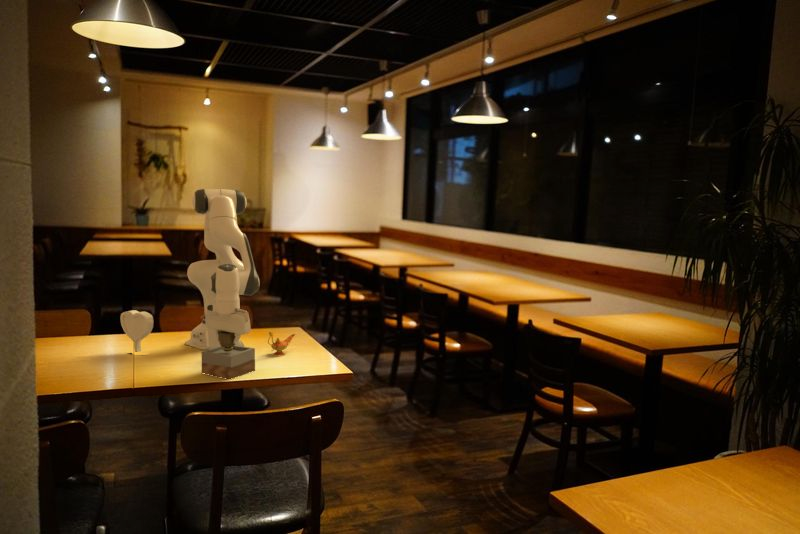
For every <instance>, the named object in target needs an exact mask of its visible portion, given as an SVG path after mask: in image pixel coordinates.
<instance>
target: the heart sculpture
mask: <svg viewBox="0 0 800 534" xmlns="http://www.w3.org/2000/svg"><path fill="white" fill-rule="evenodd" d="M119 319H120V325H121V327H122V329H123V332H124V333H125V334H126V336H127V338H129V339H130V340H131V341H132V342H133V344H134V345H133V347H134V350H135V352H141V350H142V349H141V341H143V339H144V338H147V337H148V336H149V335H150V334H151V332H152V331H153V328H154V317H153V315H152V314H151V313H149V312H147V311H138V310H135V309H134V310H133V309H132V310H128V311H123V312H122V313H120V317H119Z"/></svg>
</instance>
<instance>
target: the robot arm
mask: <svg viewBox="0 0 800 534" xmlns="http://www.w3.org/2000/svg"><path fill="white" fill-rule="evenodd" d="M247 201H248V200H247V198H246V194H245V193H244V191H242V190H238V189H235V190H234V189H229V188H228V189H227V188H218V189H217V188H211V189H209V188H208V189H204V188H201V189H197V190H195V191H194V194H193V196H192V200H191V203H192V204H191V205H192V207H193V209H194V211H195V212H196V213H197V214H199V215H205V216H204V231H203V233H204V236H203V237H204V239H203V243H204V246H205V248H206V249H207V250H209V251H210V252H212V253H215V257H216V258H215V259H206V260H198V261H195V262H192V263H191V264H190V265H189V266H188V267H187V278H188V280H189V281H190V283H191V284H193V285H194V286H195V287H197V289H198V290H199V291H200V293H201V295H202V298H203V306H204V307H203V308H204V309H203V310H204V311H203V312H204V314H203V315H201V316H199V317H200V319H201V323H200V324H198V325H197V326H196V327H194V328H193V329H192V330H191V332H190V337H189V338H190V339H187V340H185V342H184V345H187V346H190V347H193V348H195V349H198V350H204V351H206V350H209V349H212V348H215V347H218V346H220V343H219V338H218V331H219V332H220V331H225V332H231V333H235V336H236V337H235V339H234V340H233V344H235V345H237V344H239V341H240V339H241V336H242V335H244V336H245V335H249V333H251V320H250V315H249V312H248V311H247V310H245V309H241V307H240V306H241V305H240V295H241V296H242V295H243V296H253V295H255V294H256V293H257V292H258V291H259V290H260V283H261V282H260V278H259V274H258V272H257V270H256V265H255V262H254V258H253V254H252V250H251V246H250V241H249V239H248V237H247V235H246V233H244V232H242V231H241V229H240V227H239V225H238V218H237V217H238V216H239V215H243V213H244V212H245V211H246V208H247ZM233 249H235V250H237V251H238V252H239V254H240V257H241V259H239V258H237V256H236V255H235V253H234V251H233ZM200 319H199V320H200Z"/></svg>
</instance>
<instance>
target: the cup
mask: <svg viewBox="0 0 800 534" xmlns="http://www.w3.org/2000/svg"><path fill="white" fill-rule="evenodd" d="M235 337H236V336H235V333H231V332H225V331H220V332H219V331H218V338H219V343H220V345H221V346H222V347H223V350H224V351H226V352H229V351H232V350H233V346H234V345H235V344H233V340H234V339H235Z"/></svg>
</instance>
